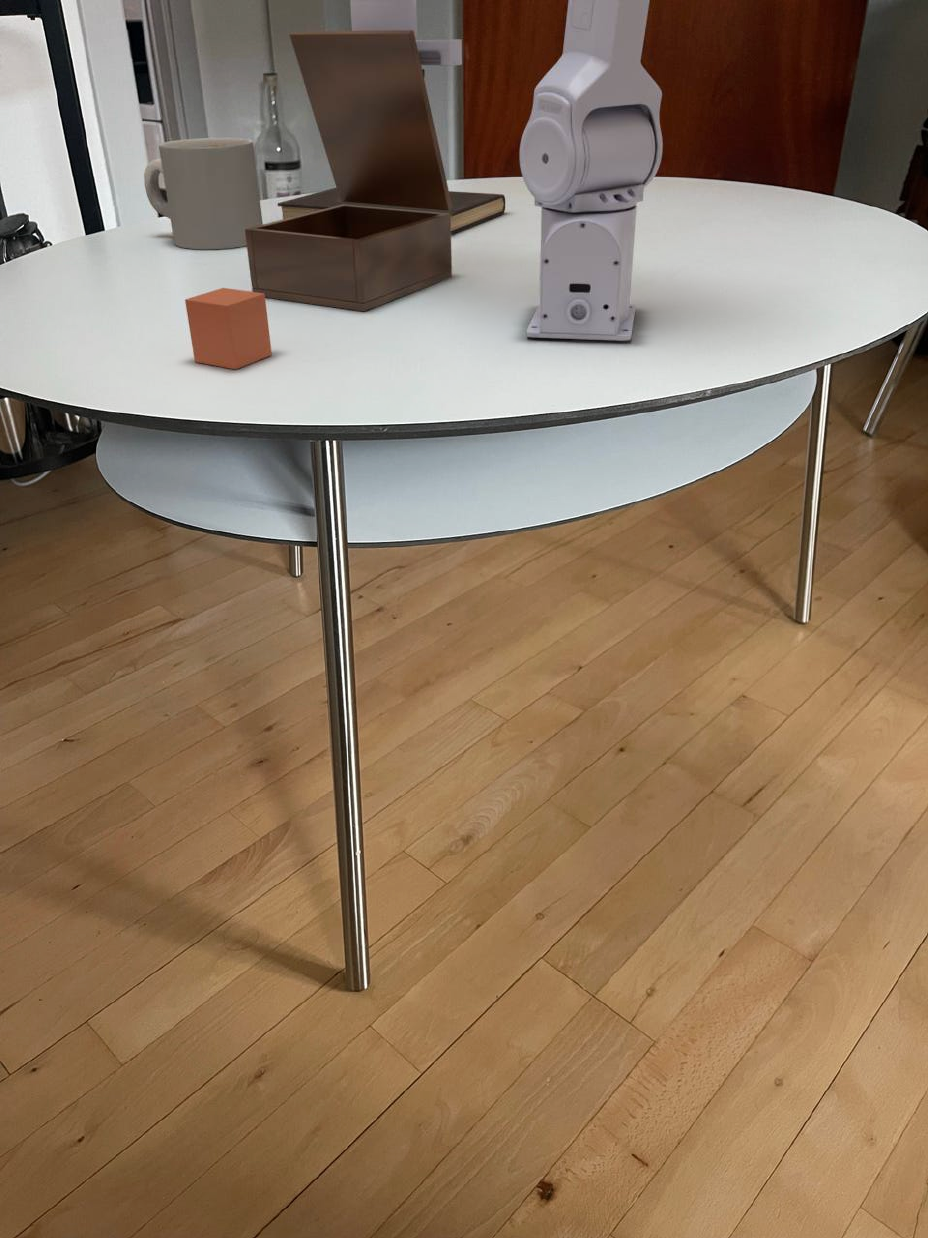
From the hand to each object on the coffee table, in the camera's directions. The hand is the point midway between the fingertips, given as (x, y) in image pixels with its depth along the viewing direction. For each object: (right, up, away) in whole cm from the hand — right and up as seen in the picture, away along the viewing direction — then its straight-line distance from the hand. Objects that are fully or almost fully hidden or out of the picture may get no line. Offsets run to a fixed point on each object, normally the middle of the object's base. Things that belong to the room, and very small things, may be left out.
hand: (391, 154), depth 91 cm
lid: (-2, +1, -3) cm, 4 cm away
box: (-3, -12, 0) cm, 12 cm away
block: (-10, -24, -18) cm, 32 cm away
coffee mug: (-22, 0, +21) cm, 31 cm away
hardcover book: (-2, +6, +31) cm, 31 cm away
